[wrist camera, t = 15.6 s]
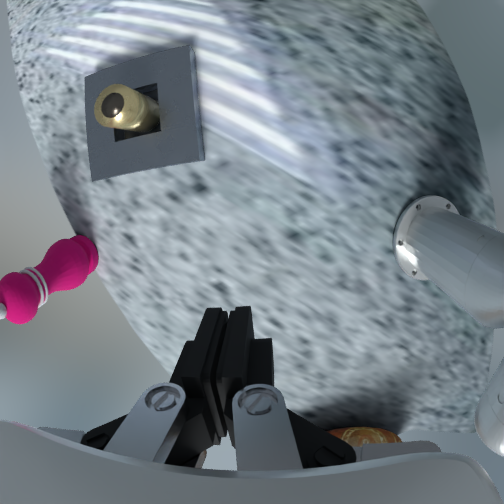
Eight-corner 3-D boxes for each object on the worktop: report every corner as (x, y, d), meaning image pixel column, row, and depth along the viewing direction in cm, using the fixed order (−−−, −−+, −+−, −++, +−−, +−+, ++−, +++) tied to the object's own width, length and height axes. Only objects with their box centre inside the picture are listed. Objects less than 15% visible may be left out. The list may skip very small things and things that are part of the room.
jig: (194, 52, 30) (189, 45, 27) (204, 160, 34) (199, 160, 32) (95, 81, 31) (84, 77, 28) (103, 179, 35) (91, 181, 33)
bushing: (160, 94, 32) (131, 78, 23) (163, 128, 33) (133, 120, 25) (127, 102, 32) (92, 91, 23) (130, 135, 34) (95, 132, 25)
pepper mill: (78, 222, 38) (-18, 269, 19) (109, 255, 39) (22, 323, 20) (59, 253, 39) (-26, 307, 20) (88, 284, 41) (10, 353, 22)
